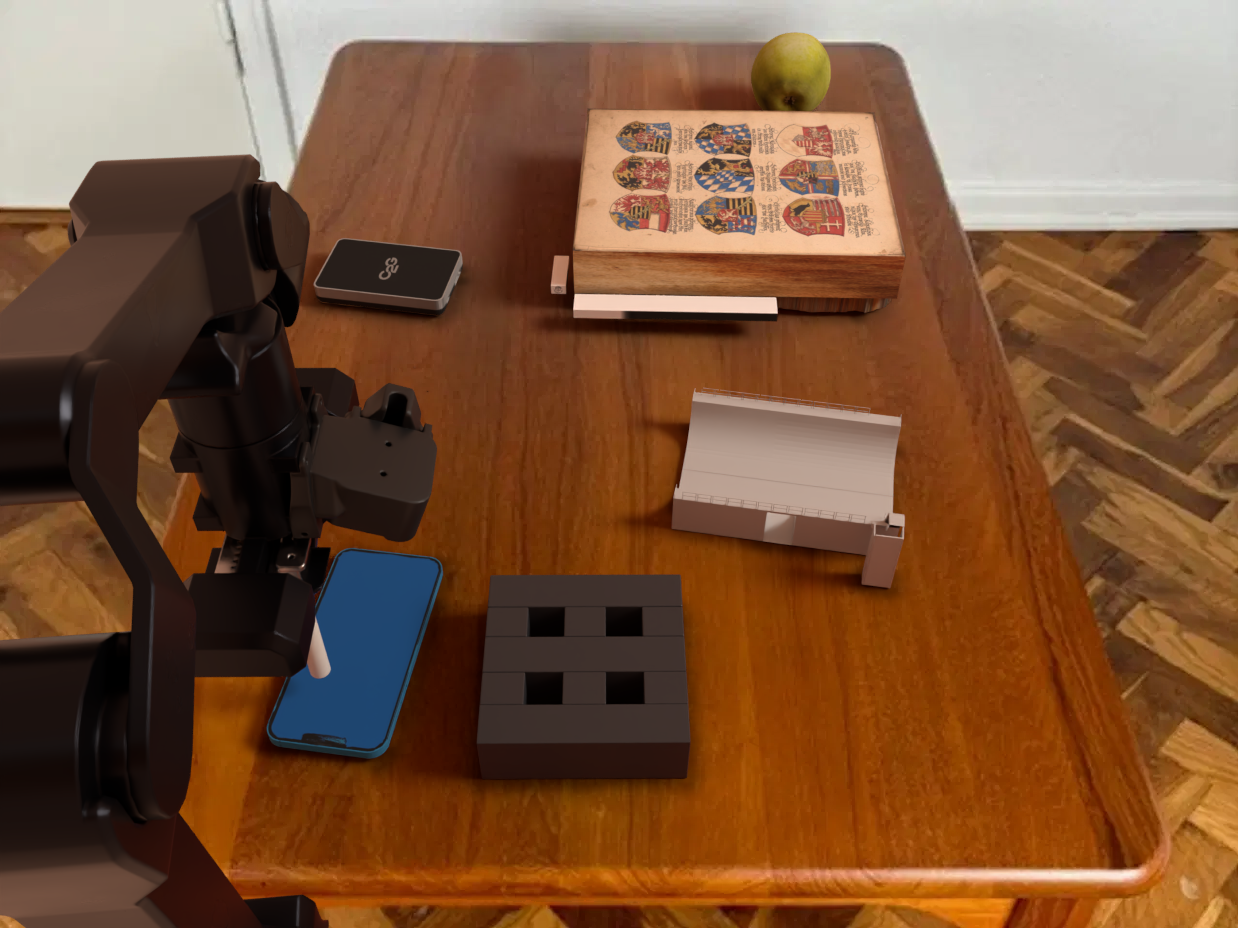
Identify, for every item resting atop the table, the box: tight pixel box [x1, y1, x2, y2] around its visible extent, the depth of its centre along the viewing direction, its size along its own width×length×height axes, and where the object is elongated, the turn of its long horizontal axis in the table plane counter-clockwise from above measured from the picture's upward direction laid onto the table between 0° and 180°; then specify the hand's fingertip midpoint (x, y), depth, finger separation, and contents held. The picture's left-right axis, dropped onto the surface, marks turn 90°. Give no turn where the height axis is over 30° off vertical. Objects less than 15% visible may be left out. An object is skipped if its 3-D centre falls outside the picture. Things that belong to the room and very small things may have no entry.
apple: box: [750, 32, 832, 111], centre depth 118 cm, size 8×9×8 cm
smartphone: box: [266, 547, 444, 760], centre depth 75 cm, size 7×1×15 cm
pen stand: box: [476, 573, 691, 780], centre depth 72 cm, size 12×12×4 cm
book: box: [550, 107, 907, 322], centre depth 103 cm, size 25×6×28 cm
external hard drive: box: [313, 237, 464, 316], centre depth 100 cm, size 7×11×2 cm, turn 81°
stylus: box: [307, 616, 331, 679], centre depth 67 cm, size 1×1×11 cm
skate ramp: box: [671, 387, 906, 589], centre depth 82 cm, size 15×13×5 cm
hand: (301, 609), depth 66 cm, fingers closed on stylus, 1 cm apart
